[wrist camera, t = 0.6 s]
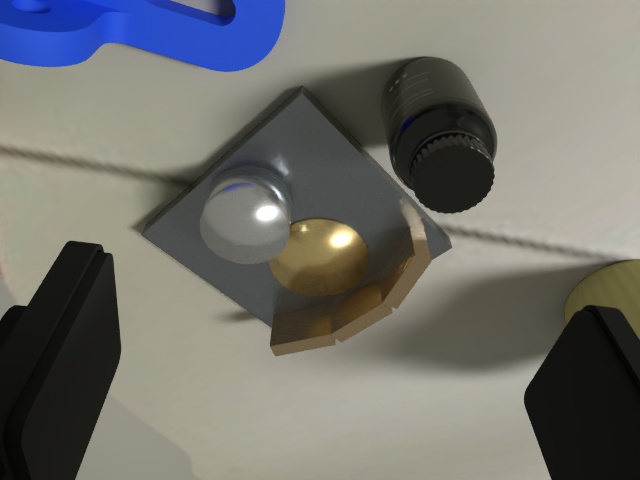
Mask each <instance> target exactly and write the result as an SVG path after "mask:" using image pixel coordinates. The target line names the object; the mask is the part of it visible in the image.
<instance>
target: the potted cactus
mask: <svg viewBox="0 0 640 480" xmlns="http://www.w3.org/2000/svg"><path fill="white" fill-rule="evenodd" d="M587 305H597V306H605V307H613V308H617V309H619V310H620V311H621V312H622V313H623V314H624V316H625V317H626V319H627V321H628V322H629V324H630V325H631V327H632V328H633V330H634V332H635V333H636V335H637V336H638V338H639V339H640V260H630V261H624V262H620V263H616V264H613V265H610V266H607V267H605V268H602V269H600V270H598V271H596V272H595V273H593V274H591V275H590V276H588V277H587V278H585V279H584V280H583V281H582V282H580V283H579V284H578V285H577V286H576V287H575V288H574V290H573V291H572V292H571V294H570V295H569V297H568V299H567V301H566V304H565V309H564V317H565V321H566V325H567V324H568V322H569V321H570V319H571V318H572V316H573V315H574V313H575V312H577V311H581V310H582V309H583V307H585V306H587Z"/></svg>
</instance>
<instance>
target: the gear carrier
mask: <svg viewBox="0 0 640 480" xmlns="http://www.w3.org/2000/svg"><path fill="white" fill-rule="evenodd" d="M142 236H144V237H145V238H147V239H148V240H149V241H151V242H152V243H154V244H155V245H156V246H158V247H159V248H161V249H162V250H163V251H165V252H166V253H168V254H169V255H170V256H172V257H173V258H175V259H176V260H177V261H179V262H180V263H182V264H183V265H185V266H186V267H187V268H189V269H190V270H192V271H193V272H194V273H196V274H197V275H199V276H200V277H201V278H203V279H204V280H206V281H207V282H208V283H210V284H211V285H213V286H214V287H215V288H217V289H218V290H220V291H221V292H223V293H224V294H225V295H227V296H228V297H230V298H231V299H232V300H234V301H235V302H237V303H238V304H239V305H241V306H242V307H244V308H245V309H246V310H248V311H249V312H251V313H252V314H254V315H255V316H256V317H258V318H259V319H261V320H262V321H263V322H265V323H266V324H268V325H269V326H270V327H272V331H271V341H270V348H271V349H272V351H273V353H274V355H275V356H280V355H285V354H290V353H295V352H300V351H305V350H310V349H315V348H321V347H326V346H331V345H335V338H336V339H338V340H339V341H340V342H343V341H345V340H346V339H348V338H350V337H352V336H353V335H355V334H357V333H358V332H360V331H362V330H364V329H365V328H367V327H369V326H370V325H372V324H374V323H376V322H377V321H379V320H381V319H382V318H384V317H386V316H388V315H389V314H391V313H393V312H392V307H394V308H398V307H399V305H400V304H401V303H402V301H403V300H404V298H405V297H406V296H407V294H408V293H409V291H410V290H411V289H412V287H413V286H414V285H415V283H416V282H417V280H418V279H419V278H420V276H421V275H422V274H423V272H424V271H425V269H426V268H427V267H428V265H429V264H430V263H431V260H433V259H434V258H436V257H438V256H439V255H441V254H443V253H444V252H446V251H448V250H449V249H451V248H452V245H451V242H450V238H449V236H448V235H447V234H446V233H445V232H444V231H443V230H442V229H441V228H440V227H439V226H438V225H437V224H436V223H435V222H434V221H433V220H432V219H431V218H430V217H429V216H428V215H427V214H426V213H425V212H424V211H423V210H422V208H421V207H420V206H419V205H418V204H417V203H416V202H415V201H414V200H413V199H412V198H411V197H410V196H409V195H408V194H407V193H406V192H405V191H404V190H403V189H402V188H401V187H400V186H399V185H398V184H397V183H396V182H395V180H394V179H393V178H392V177H391V176H390V175H389V174H388V173H387V172H386V171H385V170H384V169H383V168H382V167H381V166H380V165H379V164H378V163H377V162H376V161H375V160H374V159H373V158H372V157H371V156H370V155H369V154H368V152H367V151H366V150H365V149H364V148H363V147H362V146H361V145H360V144H359V143H358V142H357V141H356V140H355V139H354V138H353V137H352V136H351V135H350V134H349V133H348V132H347V131H346V130H345V129H344V128H343V127H342V126H341V125H340V123H339V122H338V121H337V120H336V119H335V118H334V117H333V116H332V115H331V114H330V113H329V112H328V111H327V110H326V109H325V108H324V107H323V106H322V105H321V104H320V103H319V102H318V101H317V100H316V99H315V98H314V97H313V95H312V94H311V93H310V92H309V91H308V90H307V89H306V88H305V87H304V86H301V87H300V88H299V89H298V90H297V91H296V92H295V93H294V94H293V95H291V96H290V97H289V98H288V99H287V100H286V101H285V102H284V103H282V104H281V105H280V106H279V107H278V108H277V109H276V110H275V111H273V112H272V113H271V114H270V115H269V116H268V117H267V118H266V119H264V120H263V121H262V122H261V123H260V124H259V125H258V126H257V127H255V128H254V129H253V130H252V131H251V132H250V133H249V134H248V135H246V136H245V137H244V138H243V139H242V140H241V141H240V142H239V143H237V144H236V145H235V146H234V147H233V148H232V149H231V150H230V151H229V152H227V153H226V154H225V155H224V156H223V157H222V158H221V159H220V160H218V161H217V162H216V163H215V164H214V165H213V166H212V167H211V168H209V169H208V170H207V171H206V172H205V173H204V174H203V175H202V176H200V177H199V178H198V179H197V180H196V181H195V182H194V183H193V184H191V185H190V186H189V187H188V188H187V189H186V190H185V191H184V192H182V193H181V194H180V195H179V196H178V197H177V198H176V199H175V200H173V201H172V202H171V203H170V204H169V205H168V206H167V207H166V208H165V209H163V210H162V211H161V212H160V213H159V214H158V215H157V216H156V217H154V218H153V219H152V220H151V221H150V222H149V223H148V224H147V225H146V226H145V229H144V231H143V233H142Z"/></svg>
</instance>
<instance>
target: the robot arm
mask: <svg viewBox="0 0 640 480" xmlns="http://www.w3.org/2000/svg"><path fill="white" fill-rule="evenodd" d="M120 355H121V340H120V329H119V318H118V307H117V296H116V285H115V274H114V262H113V256H112V254H111V253H104V250H103V247H102V245H100V244H94V243H85V242H77V241H69V242H67V243H66V244H65V246H64V247H63V249H62V251H61V252H60V254H59V256H58V257H57V259H56V260H55V262H54V264H53V265H52V267H51V269H50V270H49V272H48V273H47V275H46V277H45V278H44V280H43V281H42V283H41V285H40V286H39V288H38V290H37V291H36V293H35V294H34V296H33V298H32V299H31V301H30V303H29V304H28V306H20V305H14V306H13V307H11V308H9V310H8V311H7V312H6V313H5V314H4V316H3V317H2V319H1V320H0V480H75V478H76V476H77V473H78V470H79V468H80V465H81V462H82V459H83V457H84V454H85V452H86V449H87V446H88V444H89V441H90V438H91V435H92V433H93V430H94V428H95V425H96V423H97V420H98V417H99V415H100V412H101V409H102V407H103V404H104V401H105V399H106V396H107V393H108V391H109V388H110V385H111V383H112V380H113V377H114V375H115V372H116V369H117V367H118V364H119V360H120ZM524 404H525V408H526V410H527V413H528V416H529V419H530V421H531V424H532V427H533V430H534V433H535V435H536V438H537V441H538V444H539V446H540V449H541V452H542V455H543V457H544V460H545V463H546V466H547V468H548V471H549V474H550V477H551V479H552V480H640V339H639V338H638V336H637V335H636V333H635V332H634V330H633V328H632V327H631V325H630V324H629V322H628V321H627V319H626V317H625V316H624V314H623V313H622V312H621V311H620V310H619V309H617V308H613V307H605V306H597V305H587V306H585V307H583V309H582V310H581V311H577V312H575V313H574V315H573V316H572V318H571V319H570V321H569V322H568V324H567V325H566V327H565V329H564V330H563V332H562V333H561V335H560V337H559V338H558V340H557V341H556V343H555V344H554V346H553V348H552V349H551V351H550V352H549V354H548V355H547V357H546V359H545V360H544V362H543V363H542V365H541V367H540V368H539V370H538V371H537V373H536V374H535V376H534V378H533V379H532V381H531V382H530V384H529V385H528V387H527V389H526V391H525V395H524Z"/></svg>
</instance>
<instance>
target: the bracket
mask: <svg viewBox="0 0 640 480" xmlns="http://www.w3.org/2000/svg"><path fill="white" fill-rule="evenodd" d="M232 1H233V3H234V5H235V8H236V14H235V15H233V16H231V17H221V16H217V15H214V14H211V13H208V12H205V11H202V10H199V9H195V8H192V7H189V6H186V5H183V4H180V3H177V2H173V1H170V0H0V59H3V60H6V61H10V62H14V63H19V64H24V65H31V66H42V67H60V66H69V65H74V64H78V63H81V62H83V61H85V60H87V59H88V58H89V57H91V56H92V55H93V53H94V52H95V51H96V50H97V49H98V48H99V47H100V46H101V45H103V44H105V43H122V44H127V45H130V46H134V47H137V48H140V49H144V50H147V51H150V52H154V53H157V54H160V55H164V56H167V57H170V58H174V59H177V60H181V61H184V62H187V63H191V64H194V65H197V66H201V67H204V68H207V69H211V70H215V71H223V72H231V71H239V70H243V69H246V68H249V67H251V66H253V65H255V64H256V63H258V62H259V61H261V60H262V59H263V58H264V57H266V56H267V55H268V53H269V52H270V51H271V50H272V48H273V47H274V45H275V44H276V42H277V40H278V37H279V35H280V32H281V28H282V24H283V19H284V13H285V0H232Z"/></svg>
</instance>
